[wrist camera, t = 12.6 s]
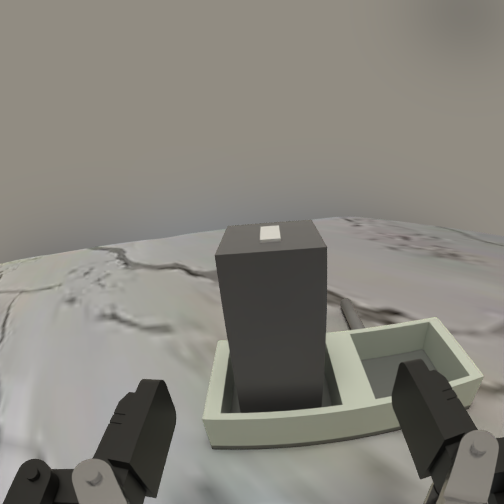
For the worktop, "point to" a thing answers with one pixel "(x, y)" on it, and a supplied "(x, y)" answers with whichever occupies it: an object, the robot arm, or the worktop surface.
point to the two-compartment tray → (341, 386)
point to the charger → (275, 313)
